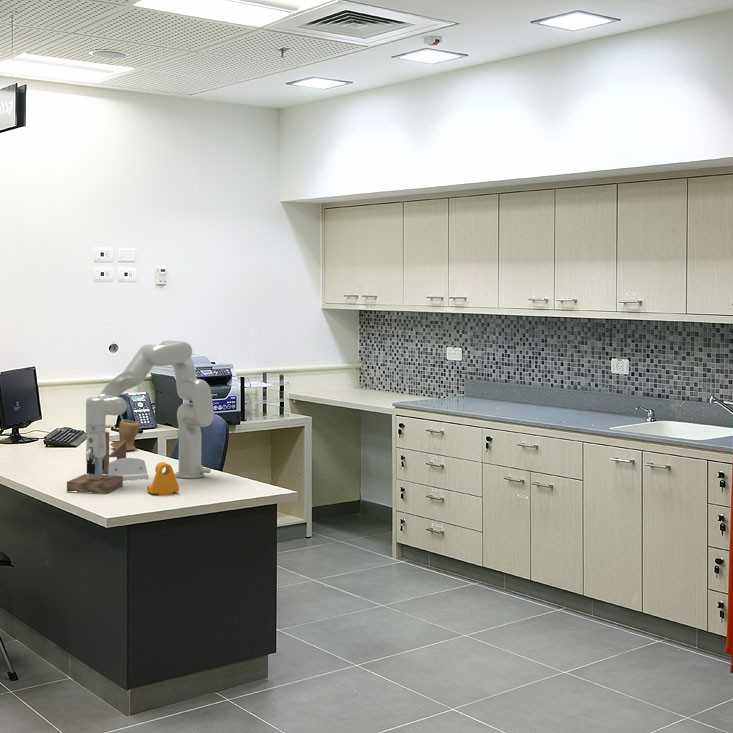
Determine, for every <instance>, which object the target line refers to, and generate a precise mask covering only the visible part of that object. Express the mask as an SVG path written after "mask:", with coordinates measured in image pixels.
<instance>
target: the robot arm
mask: <svg viewBox="0 0 733 733" xmlns="http://www.w3.org/2000/svg"><path fill="white" fill-rule="evenodd" d="M192 355H193V347H192V346H191V344H189V343H188V342H186V341H182V340H181V341H180V340H169V339H168V340H163V341H161V342H160V343H159V344H144V345H143V346H141V347H140V348H139V349H138V351H137V353H135V355H134V356H133V358H132V359H131V361H130V362H129V364H128V365H127V366H126V367H125V369H124V370H123V371H122V372H121V373H120V374H118V375H117V376H116V377H114V378H113V379H112V380H110V381H109V382H108V383H107V384H106V385H105V386H104V388H103V389H102V390H101V392H100V393H99V395H98V397H97V396H96V397H95V396H94V397H89V398H86V401H85V433H86V444H85V445H86V446H85V460H86V462H85V463H86V474H95V464H94V462H95V458H101V457H102V470H104V456H105V455H106V437H105V432H106V431H107V430H106V427H107V426H106V424H107V421H106V420H107V419H106V416H121V415H122V414H124V413H125V412H126V411H127V407H128V404H127V402H126V400H125V399H123V398H122V397H120V396H121V395H122V394H123V393H124V392H126V391H128V390H130V389H133V388H135V387H137V386H139V385H141V384H143V382H144V381H145V379H146V377H147V376H148V375H149V373H150V372H151V370H152V369H153V368H154V367H155V366H156V367H165V366H172V368H173V372H174V376H175V377H174V378H175V385H176V392H177V396H178V398H180V399H181V400H184V401H188V402H184V403H182V404H181V405H179V406H178V408H177V412H176V418H177V419H176V420H177V424H178V425H177V426H178V471H177V472H174V474H175V477H176V478H178V477H179V479H200V477H201V478H203V477H205V475H206V474H211V472H212V470H211V468H209V467H208V468H207V467H204V465H203V464H202V430H201V428H205V427H209V426H210V425H211V424H212V423H213V420H214V415H215V414H214V413H215V412H214V405H213V395H212V390H211V387H210V385H209V383H207V381H206V380H204V379H200V378H197V375H196V369H195V364H194V362H193V360H192V358H191V357H192ZM189 401H190V402H189ZM92 459H93V460H92Z"/></svg>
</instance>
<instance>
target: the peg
mask: <svg viewBox="0 0 733 733" xmlns="http://www.w3.org/2000/svg"><path fill="white" fill-rule="evenodd" d="M92 460H93V459H92ZM94 464H95V474H89V480H101V479H102V478H103V477H102V475H103V474H102V457H101V458H95V462H94Z"/></svg>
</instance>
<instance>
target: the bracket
mask: <svg viewBox="0 0 733 733" xmlns="http://www.w3.org/2000/svg"><path fill="white" fill-rule="evenodd" d="M164 468H165V470H164ZM154 470H155V475H154V478H153V480H152V483H151V485H147V486H146V492H148V493H150V494H152V495H153V494H156V495H158V496H164V495H165V496H166V495H173V493H177V492H180V486H179V483H178V480H177V477H175V472H174V469H173V467H172V466H171V465H170V464H168V463H166V462H158V463H157V464H156V466H155V468H154ZM163 470H164V472H163Z"/></svg>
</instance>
